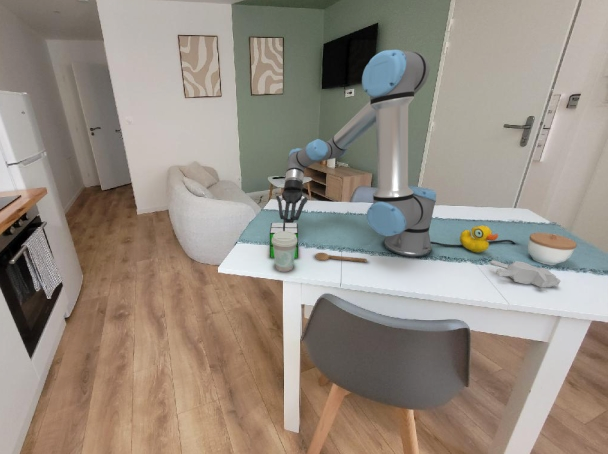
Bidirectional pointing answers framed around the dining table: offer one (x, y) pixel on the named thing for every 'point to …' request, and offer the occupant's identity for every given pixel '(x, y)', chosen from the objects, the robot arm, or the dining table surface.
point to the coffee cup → (284, 250)
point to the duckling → (477, 238)
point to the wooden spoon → (337, 257)
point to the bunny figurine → (527, 274)
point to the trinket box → (550, 248)
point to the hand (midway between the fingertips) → (286, 235)
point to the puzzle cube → (283, 227)
